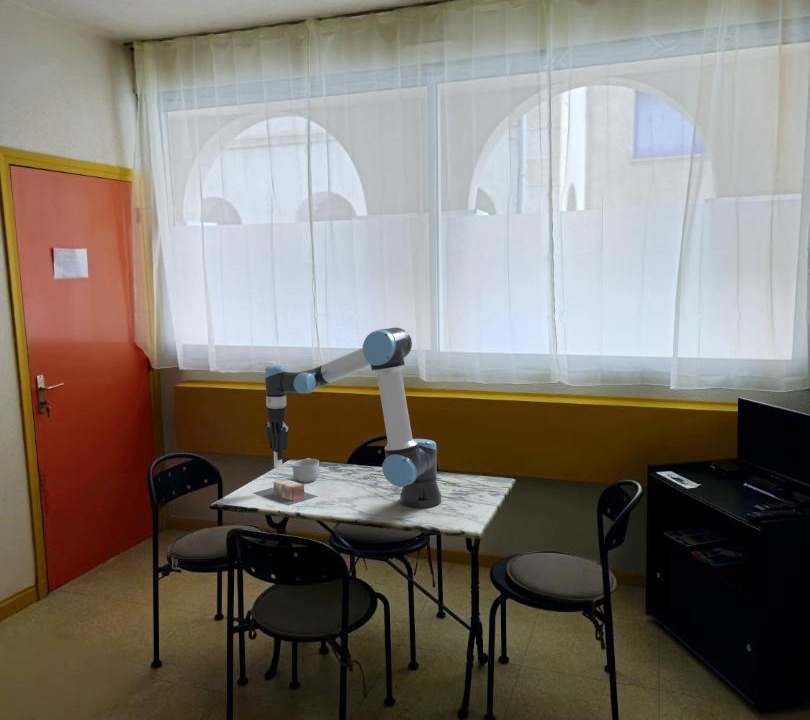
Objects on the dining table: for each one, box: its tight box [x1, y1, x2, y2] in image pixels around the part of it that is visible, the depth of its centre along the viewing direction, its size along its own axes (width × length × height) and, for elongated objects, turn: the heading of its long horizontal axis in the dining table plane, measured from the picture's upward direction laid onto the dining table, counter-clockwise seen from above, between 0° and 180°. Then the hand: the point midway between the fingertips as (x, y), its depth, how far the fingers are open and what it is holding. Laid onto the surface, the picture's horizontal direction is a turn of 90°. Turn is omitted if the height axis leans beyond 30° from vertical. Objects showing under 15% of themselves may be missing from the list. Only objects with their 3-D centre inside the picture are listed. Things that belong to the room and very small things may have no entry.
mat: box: [252, 486, 319, 506], centre depth 258 cm, size 22×14×1 cm, turn 47°
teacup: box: [291, 457, 320, 484], centre depth 278 cm, size 14×11×8 cm
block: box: [273, 478, 305, 501], centre depth 256 cm, size 5×5×12 cm
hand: (278, 467), depth 259 cm, fingers closed
